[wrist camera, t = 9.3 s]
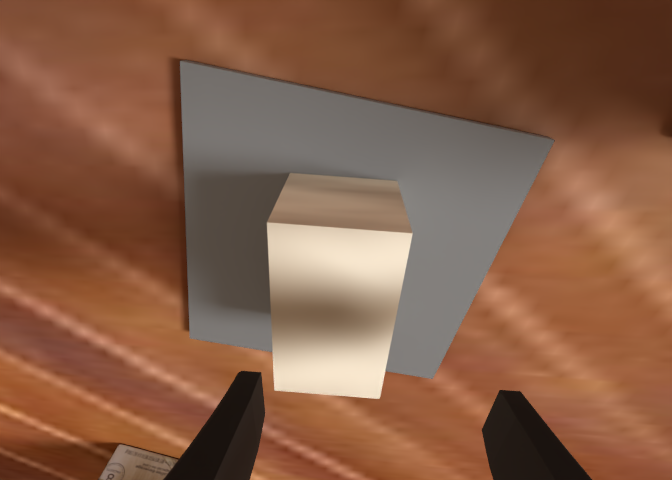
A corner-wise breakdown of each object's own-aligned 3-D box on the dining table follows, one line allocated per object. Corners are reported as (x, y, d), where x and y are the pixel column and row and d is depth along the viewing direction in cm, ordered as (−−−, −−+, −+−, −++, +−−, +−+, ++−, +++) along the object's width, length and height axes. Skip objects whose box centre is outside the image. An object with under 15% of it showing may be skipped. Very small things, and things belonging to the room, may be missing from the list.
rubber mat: (547, 136, 15) (554, 140, 15) (430, 371, 24) (432, 378, 23) (186, 59, 15) (179, 60, 14) (193, 331, 23) (189, 338, 22)
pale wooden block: (374, 323, 21) (379, 398, 16) (291, 317, 21) (274, 390, 16) (397, 180, 16) (412, 233, 12) (290, 172, 16) (266, 222, 12)
